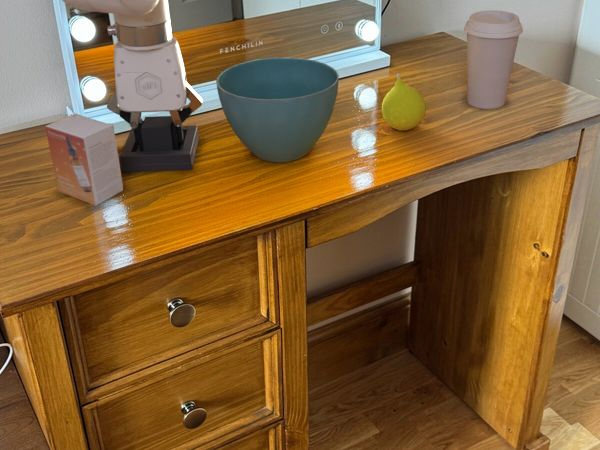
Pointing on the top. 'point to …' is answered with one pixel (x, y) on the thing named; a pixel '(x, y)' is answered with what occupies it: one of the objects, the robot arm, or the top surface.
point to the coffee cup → (490, 56)
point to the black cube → (157, 133)
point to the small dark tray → (160, 154)
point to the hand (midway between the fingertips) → (160, 146)
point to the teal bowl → (278, 104)
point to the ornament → (403, 106)
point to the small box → (85, 158)
